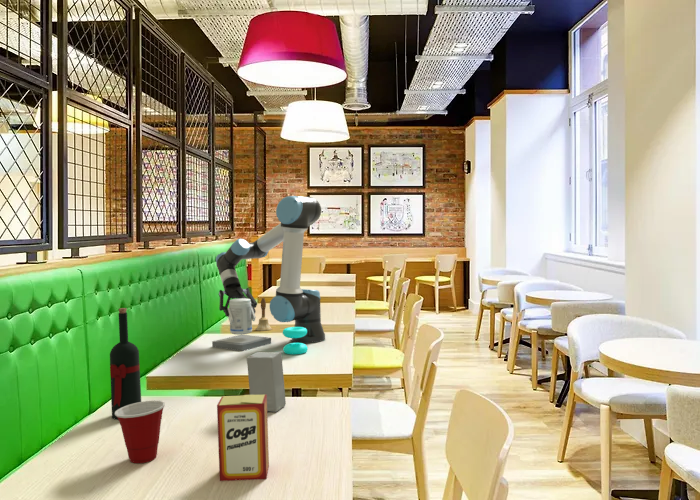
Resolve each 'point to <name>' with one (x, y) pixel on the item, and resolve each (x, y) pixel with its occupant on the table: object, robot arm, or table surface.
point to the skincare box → (267, 378)
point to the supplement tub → (241, 316)
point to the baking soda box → (243, 437)
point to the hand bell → (263, 318)
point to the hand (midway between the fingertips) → (243, 320)
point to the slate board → (241, 342)
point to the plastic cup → (141, 429)
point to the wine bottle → (124, 369)
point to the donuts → (295, 347)
